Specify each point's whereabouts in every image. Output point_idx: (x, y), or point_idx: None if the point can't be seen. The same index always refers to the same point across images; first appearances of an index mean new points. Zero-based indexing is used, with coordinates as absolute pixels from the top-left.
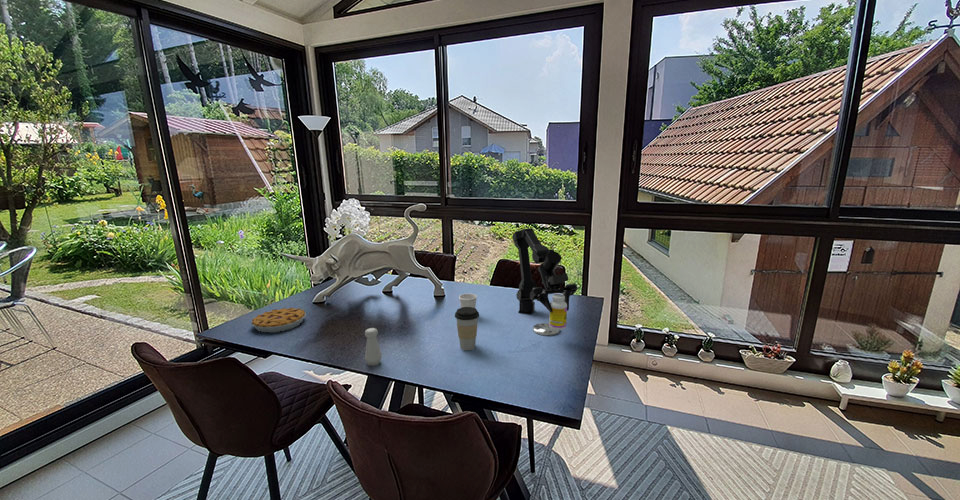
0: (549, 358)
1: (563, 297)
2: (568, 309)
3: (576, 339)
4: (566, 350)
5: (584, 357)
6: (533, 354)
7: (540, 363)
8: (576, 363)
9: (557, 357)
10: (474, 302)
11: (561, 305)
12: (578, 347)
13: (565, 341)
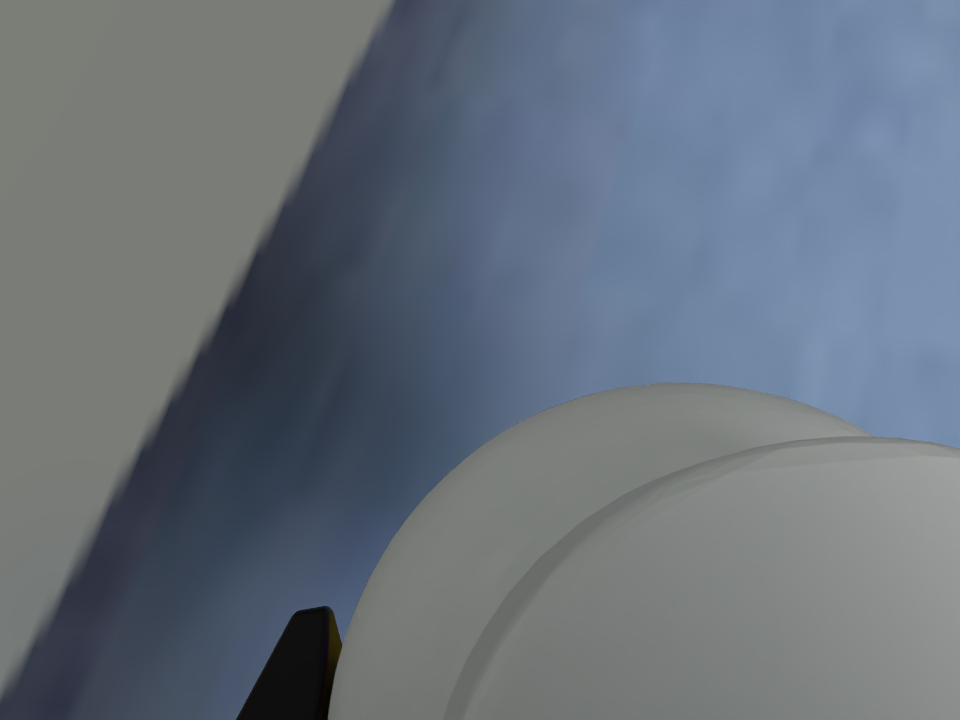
0: (744, 161)
1: (620, 538)
2: (309, 609)
3: (222, 643)
4: (484, 325)
5: (327, 126)
6: (919, 280)
7: (866, 72)
8: (470, 16)
9: (646, 170)
10: None
11: (669, 410)
12: (296, 385)
13: None
